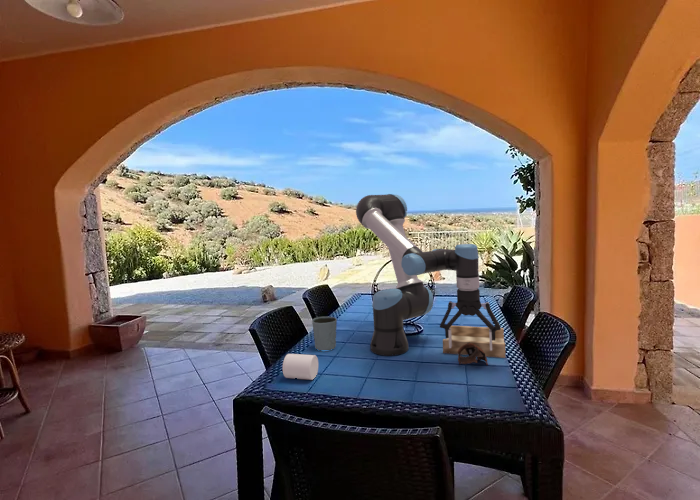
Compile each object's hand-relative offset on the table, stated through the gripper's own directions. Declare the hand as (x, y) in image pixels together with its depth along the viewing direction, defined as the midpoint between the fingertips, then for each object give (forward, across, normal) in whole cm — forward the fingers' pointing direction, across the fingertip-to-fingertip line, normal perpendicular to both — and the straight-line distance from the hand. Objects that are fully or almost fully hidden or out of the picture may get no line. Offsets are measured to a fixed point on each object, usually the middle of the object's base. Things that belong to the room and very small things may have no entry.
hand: (470, 348), depth 133 cm
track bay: (+5, 0, +17) cm, 18 cm away
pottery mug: (+6, 0, 0) cm, 6 cm away
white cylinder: (+5, -54, -23) cm, 59 cm away
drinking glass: (+5, -58, +3) cm, 58 cm away
